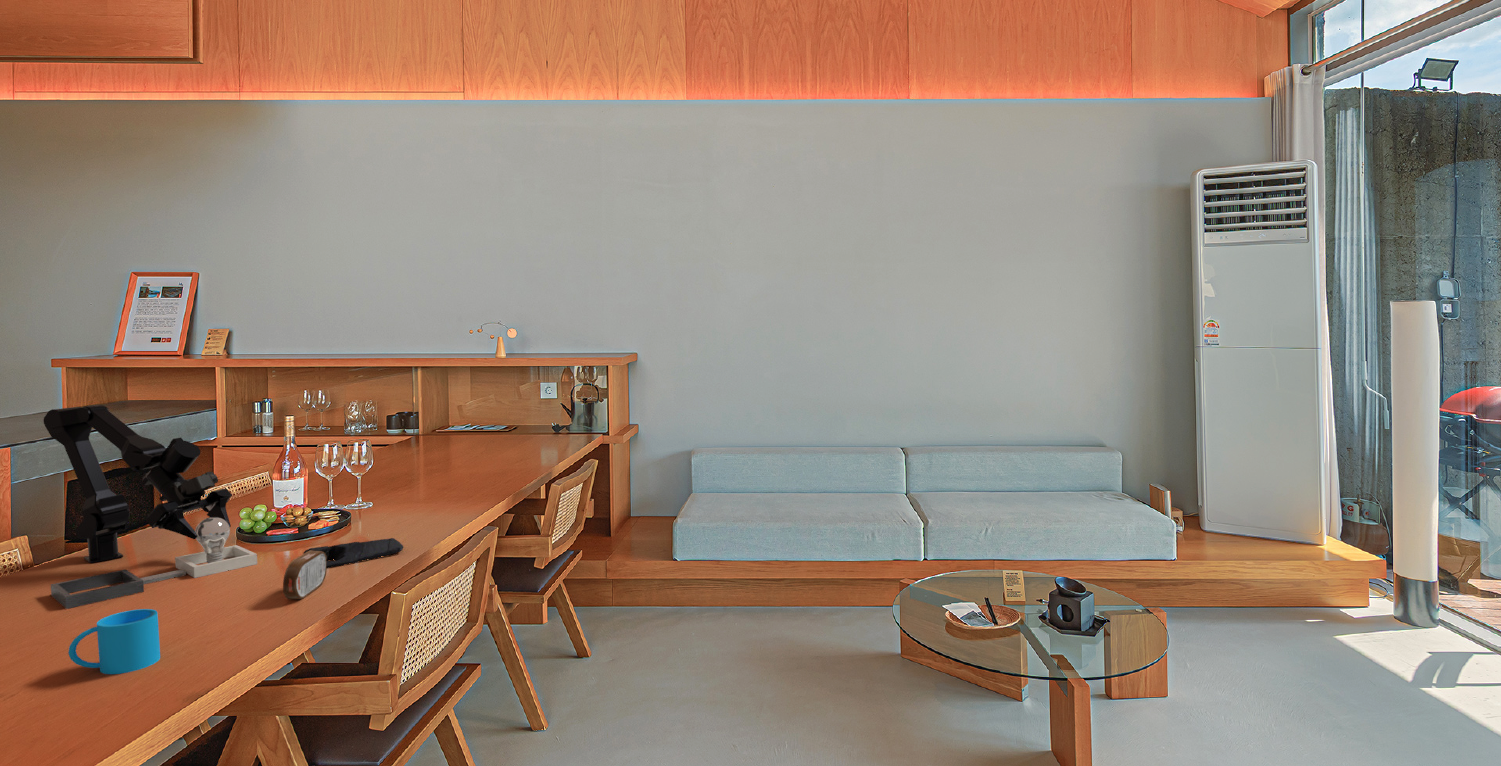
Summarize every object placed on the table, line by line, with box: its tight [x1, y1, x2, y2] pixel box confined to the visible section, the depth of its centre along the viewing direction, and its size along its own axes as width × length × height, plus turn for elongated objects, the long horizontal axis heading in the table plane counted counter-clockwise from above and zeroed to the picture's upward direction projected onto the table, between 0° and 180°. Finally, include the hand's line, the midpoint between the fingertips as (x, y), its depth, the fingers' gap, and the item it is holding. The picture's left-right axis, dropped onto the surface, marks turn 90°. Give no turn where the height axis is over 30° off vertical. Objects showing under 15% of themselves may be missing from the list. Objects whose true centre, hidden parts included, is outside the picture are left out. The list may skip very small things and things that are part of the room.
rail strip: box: [139, 569, 187, 585], centre depth 179 cm, size 3×9×1 cm, turn 142°
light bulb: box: [194, 516, 231, 564], centre depth 188 cm, size 7×7×12 cm
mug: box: [68, 608, 161, 675], centre depth 133 cm, size 12×8×8 cm
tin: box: [282, 550, 327, 600], centre depth 169 cm, size 15×3×8 cm, turn 5°
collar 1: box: [50, 568, 145, 610], centre depth 169 cm, size 13×13×2 cm
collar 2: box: [174, 544, 258, 579], centre depth 189 cm, size 13×13×2 cm
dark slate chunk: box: [302, 537, 404, 569], centre depth 196 cm, size 15×22×5 cm
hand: (213, 532), depth 188 cm, fingers open, 9 cm apart
